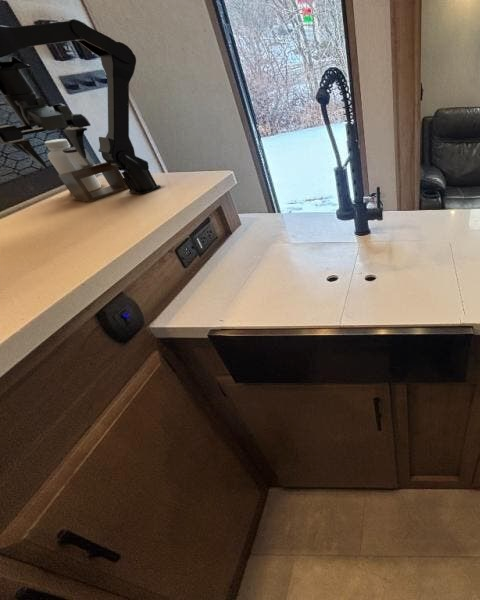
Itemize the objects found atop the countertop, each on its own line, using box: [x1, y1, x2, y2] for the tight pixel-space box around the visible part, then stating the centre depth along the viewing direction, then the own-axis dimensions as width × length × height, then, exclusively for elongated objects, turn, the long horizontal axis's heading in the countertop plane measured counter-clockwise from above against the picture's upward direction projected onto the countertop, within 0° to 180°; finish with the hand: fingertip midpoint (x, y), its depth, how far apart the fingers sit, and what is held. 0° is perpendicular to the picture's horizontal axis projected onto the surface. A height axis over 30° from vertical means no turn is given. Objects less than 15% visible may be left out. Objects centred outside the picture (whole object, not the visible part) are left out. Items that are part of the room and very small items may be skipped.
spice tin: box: [62, 146, 96, 170], centre depth 95 cm, size 5×5×6 cm
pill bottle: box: [44, 138, 102, 193], centre depth 101 cm, size 8×8×15 cm
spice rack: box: [57, 161, 129, 203], centre depth 99 cm, size 8×12×9 cm, turn 157°
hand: (66, 163), depth 85 cm, fingers open, 9 cm apart
